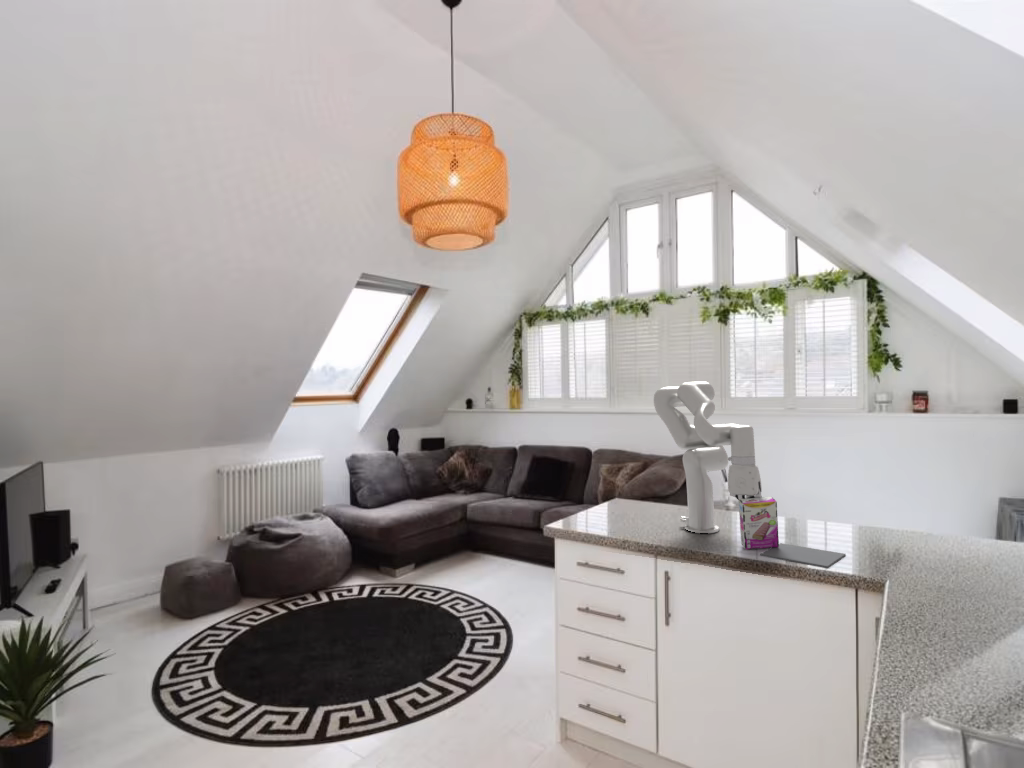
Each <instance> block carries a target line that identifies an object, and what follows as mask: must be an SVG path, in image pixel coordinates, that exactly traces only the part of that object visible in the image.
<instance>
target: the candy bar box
mask: <svg viewBox="0 0 1024 768" xmlns="http://www.w3.org/2000/svg"><path fill="white" fill-rule="evenodd" d="M777 503H778V501H777V500H776V499H775V498H774V497H772V496H765V497H764V496H763V497H762V498H747V499H739V500H738V512H739V515H738V516H739V530H740V544H741V545H742V547H743V549H744V550H746V551H747V550H758V549H771V548H774V547H779V544H780V542H779V521H778V518H779V517H778V504H777Z"/></svg>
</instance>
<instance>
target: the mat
mask: <svg viewBox="0 0 1024 768" xmlns="http://www.w3.org/2000/svg"><path fill="white" fill-rule="evenodd" d="M759 555H760V556H761V557H766V558H767V557H768V558H771V559H777V560H783V561H790V562H794V563H799V564H804V565H809V564H810V565H811V566H815V567H820V568H826V569H828V568H829V567H831V566H833V565H834V564H836V563H837V562H839V561H840V560H841V559H842V558H844V557H845V556H846V553H843V552H838V551H837V552H836V551H830V550H825V549H819V548H812V547H805V546H801V545H800V546H799V545H794V544H787V543H783V542H779V547H774V548H768V549H767V550H765V551H763V552H761V553H760V554H759Z"/></svg>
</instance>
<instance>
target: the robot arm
mask: <svg viewBox="0 0 1024 768" xmlns="http://www.w3.org/2000/svg"><path fill="white" fill-rule="evenodd" d="M715 392H716V391H715V388H714V386H713V385H712V384H711V383H709V382H707V381H688V382H683V383H680V385H679V386H678V385H677V386H676V385H675V386H665V387H661V388H658V389H657V390H655V393H654V394H653V395H654V396H653V406H654V409H655V411H656V413H657V415H658V416H659V418H660V419H661V421H663V423H664V425H666V428H667V430H668V431H669V433H670V434H671V437H672V438H673V440H674V442H675V444H676V446H677V447H678V448H679V449H680V450H683V451H684V453H683V455H682V465H683V469H684V475H685V482H686V495H687V498H686V499H687V500H686V501H687V516H683V515H681V516H680V520H679V522H681V523H685V525H684V530H685V529H686V530H688V531H691V532H690V533H692V532H695V533H694V534H700V533H708V534H715V533H718V532H719V531H720V526H719V525H717V524H715V508H714V505H715V504H714V489H713V488H714V487H713V486H714V485H713V482H712V480H711V478H710V477H709V475H708V473H709V472H717V471H718V472H719V471H723V470H724V469H726V468H727V467H728V464H729V462H731V464H729V468H728V474H727V490H728V493H729V495H730V496H731V497H732V498H733V497H734V498H735V499H736V500H737V501H739V499H747V498H762V481H761V474H760V471H759V466H758V465H757V464H756V450H755V435H754V434H755V432H754V427H753V426H751V425H748V424H747V425H746V424H736V423H726V424H725V423H722V424H721V423H720V424H712V423H711V422H709V421H708V420H707V419H709V418H710V417H711V416H712V415H713V414H714V412H715V410H716V404H715V403H714V402H713V399H714V397H715ZM676 407H677V408H678V407H679V408H680V407H686V408H687V409H688V410H689V412H690V413H691V414H692V415H693V416H694V417H693V424H691V423H690V422H689V420H688V418H687V417H686V415H685V414H684V413H682V412H681V410H678V409H677V408H676ZM724 446H730V452H731V456H728V453H727V451H726V450H725V448H724ZM686 530H685V531H686ZM688 531H687V532H688Z"/></svg>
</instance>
